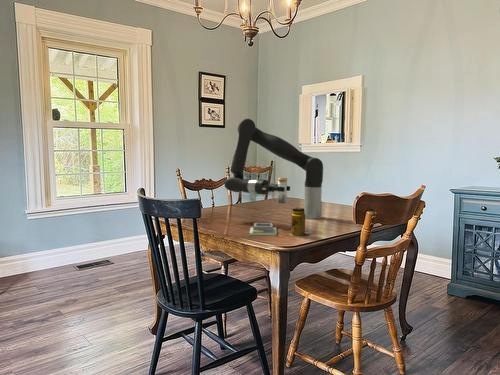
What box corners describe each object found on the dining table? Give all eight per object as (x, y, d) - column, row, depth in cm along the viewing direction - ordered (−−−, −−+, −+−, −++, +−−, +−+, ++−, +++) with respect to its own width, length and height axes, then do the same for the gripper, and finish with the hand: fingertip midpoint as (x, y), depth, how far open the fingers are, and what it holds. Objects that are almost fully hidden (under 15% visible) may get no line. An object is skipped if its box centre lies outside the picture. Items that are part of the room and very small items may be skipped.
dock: (276, 229, 179) (276, 222, 179) (276, 235, 167) (276, 227, 167) (250, 229, 180) (250, 222, 179) (249, 235, 168) (249, 227, 168)
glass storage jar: (286, 202, 188) (287, 178, 187) (287, 203, 183) (287, 178, 182) (277, 202, 188) (277, 177, 187) (277, 203, 184) (277, 178, 182)
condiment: (287, 235, 169) (287, 208, 167) (297, 232, 175) (298, 206, 174) (301, 237, 164) (301, 210, 163) (311, 234, 170) (312, 207, 169)
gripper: (249, 180, 188) (279, 182, 177) (266, 178, 199) (294, 180, 189) (249, 195, 189) (278, 198, 178) (266, 192, 200) (294, 195, 189)
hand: (286, 188), depth 184 cm, fingers closed on glass storage jar, 4 cm apart
